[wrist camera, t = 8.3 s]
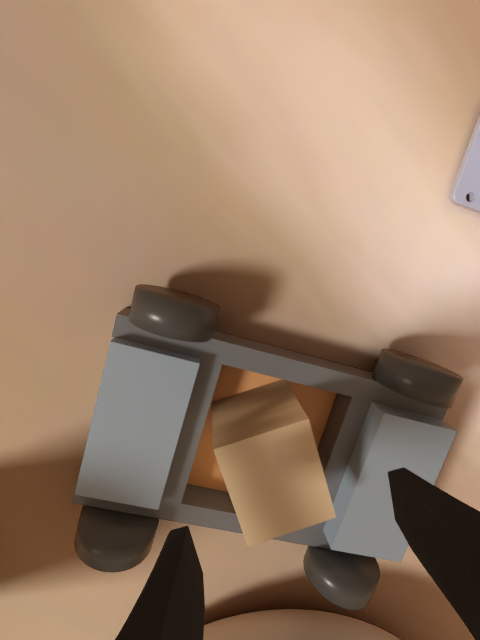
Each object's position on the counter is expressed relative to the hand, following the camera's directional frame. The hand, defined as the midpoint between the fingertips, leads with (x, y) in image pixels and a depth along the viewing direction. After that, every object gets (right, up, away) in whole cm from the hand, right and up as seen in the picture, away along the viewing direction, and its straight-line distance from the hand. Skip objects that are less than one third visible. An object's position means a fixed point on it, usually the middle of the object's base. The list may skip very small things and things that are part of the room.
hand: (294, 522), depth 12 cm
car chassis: (-1, 0, +10) cm, 9 cm away
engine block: (-1, 0, +9) cm, 9 cm away
